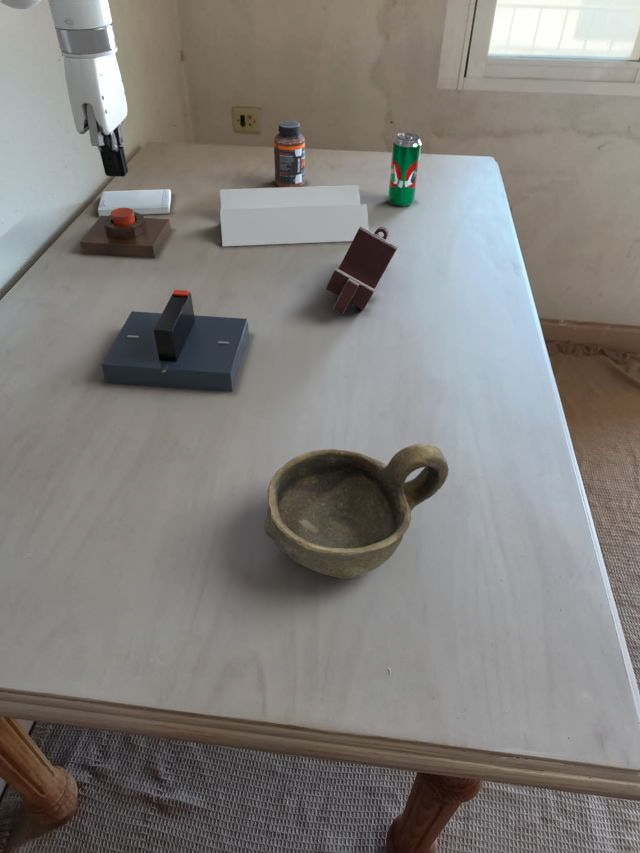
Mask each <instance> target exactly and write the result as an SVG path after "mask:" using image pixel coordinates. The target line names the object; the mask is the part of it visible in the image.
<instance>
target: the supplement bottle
mask: <svg viewBox="0 0 640 853" xmlns="http://www.w3.org/2000/svg"><path fill="white" fill-rule="evenodd" d="M278 132H279V133H277V134H276V135H275V136H274V139H273V155H274V156H273V158H274V159H273V160H274V181H275V184H276V185H277V186H278V187H279V188H280V187H303V185H305V182H306V139H305V137H304V136H303V135H302V133H301V124H300V123H299V122H298V121H295V120H285V121H281V122H279V123H278Z"/></svg>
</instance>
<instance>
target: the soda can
mask: <svg viewBox="0 0 640 853" xmlns="http://www.w3.org/2000/svg"><path fill="white" fill-rule="evenodd" d="M421 150H422V142H421V136H420V135H419V134H417V133H413V132H400V133H397V134H396V135H395V138H394V139H393V141H392V147H391V158H390V161H391V162H390V170H389V182H388V192H387V200H388V202H389V203H390V204H391V205H392V206H395V207H400V208H404V207H405V208H406V207H409V206H411V205H413V203H414V202H415V201H416V200H415V199H416V191H417V184H418V175H419V168H420V167H419V166H420V160H421V159H420V158H421Z"/></svg>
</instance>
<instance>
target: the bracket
mask: <svg viewBox="0 0 640 853" xmlns="http://www.w3.org/2000/svg"><path fill="white" fill-rule="evenodd" d="M379 233H382V234H383V236H381V235H380V234H379ZM388 236H389V230H388V229H387V227H384V226H379V227H377V228H376V230H375V231H374V232H372V231H371V230H370V229H369V230H367V229H366V228H364V227H362V226H360V228H359V229H358V231H357V233H356V235H355V237H354V239H353V241H351V243H350V245H349V247H348V248H347V251H346V253H345V254H344V257H343V259H342V261H341V263H340V264H339V266H338V268H337V267H335V268H334V271H333V272H332V274H331V276H330V278H329V281H328V283H327V285H326V287H325V290H326V291H328V292H330V293H332V294H333V295H335V296H337V297H338V298H337V300H336V302H335V304H334V305H333V307H332V310H333V311H334V312H336V313H338V314H340V315H341V316H343V315H344V313H345V311H346V310H347V308H348V306H349V305H350V304H351V305H353V306H355V307H357V308H358V309H360V310H362V311H364V310H365V309H366V307H367V305H368V303H369V301H370V300H371V298H372V296H373V295H374V292H375V290H376V287H377V286H378V284H379V282H380V280H381V278H382V277H383V275H384V273H385V271H386V270H387V268H388V266H389V264H390V262H391V260H392V259H393V257H394V255H395V253H396V252H397V250H398V248H399V246H397V245H396V244H394V243H393V242H390V241H388V240H387V238H388Z"/></svg>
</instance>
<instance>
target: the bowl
mask: <svg viewBox="0 0 640 853" xmlns="http://www.w3.org/2000/svg"><path fill="white" fill-rule="evenodd" d="M421 468H423V469H422V470H421V471H420V472H419V473H418V474H417V475H416V476H415V477H414V478H413V479H411V480H407V478H408V477H409V476H410V475H411V474H412V473H414V472H415V471H417V470H418V469H421ZM448 475H449V464H448V461H447V459H446V457H445V456H444V454H443V452H442V450H441V449H440V448H439V447H437V446H436V445H435V444H432V443H424V442H423V443H422V442H421V443H420V442H419V443H415V444H411V445H409V446H407V447H404V448H402V449H400V450H399V451H397V452H396V453H395V454H394V455H393V456H392V457H391V458H390V460H389V462H388V463H387V464H386V463H384V462H382V461H380V460H379V459H375V458H374V457H371V456H368V455H365V454H362V453H361V452H358V451H352V450H347V449H337V448H324V449H318V450H312V451H307V452H305V453H302V454H298V455H297V456H294V457H293V458H292V459H290V460H288V461H287V462H286V463H285V464H284V465H283V466H281V467H280V468H279V469H277V470H276V472H275V473H274V474H273V476H272V477H271V480H270V482H269V485H268V489H267V504H268V508H267V514H266V518H265V522H264V533H265V534H266V536H267V537H268V538H269V539H270V540H272V542H273V543H274V544H275V545H276V547H277V548H278V549H279V550H281V552H282V553H284V554H285V555H286V556H287V557H288V558H290V559H291V560H292V561H293V562H295V563H297V564H299V565H301V566H303V567H305V568H307V569H309V570H311V571H314V572H316V573H319V574H321V575H326V576H330V577H334V578H338V579H342V580H353V579H357V578H360V577H362V576H364V575H365V574H367V573H368V572H371V571H373V570H375V569H376V568H377V569H378V568H379V567H380V566H382V565H383V564H384V563H386V562H387V561H388V560H389V559H390V558H391V557H392V556H393V555H394V553H395V552H396V551H397V549H398V547H399V546H400V545H401V542H402V540H403V538H404V534H405V533H406V532H407V531H408V529H409V527H410V524H411V521H412V511H413V510H414V508H415V507H417V506H418V505H420V504H422V503H424V502H425V501H426V500H428V499H429V498H431V497H433V496H434V495H435V494H436V493H437V492H438V491H439V490H441V488H442V487H443V486H444V484H445V482H446V480H447V478H448Z"/></svg>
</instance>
